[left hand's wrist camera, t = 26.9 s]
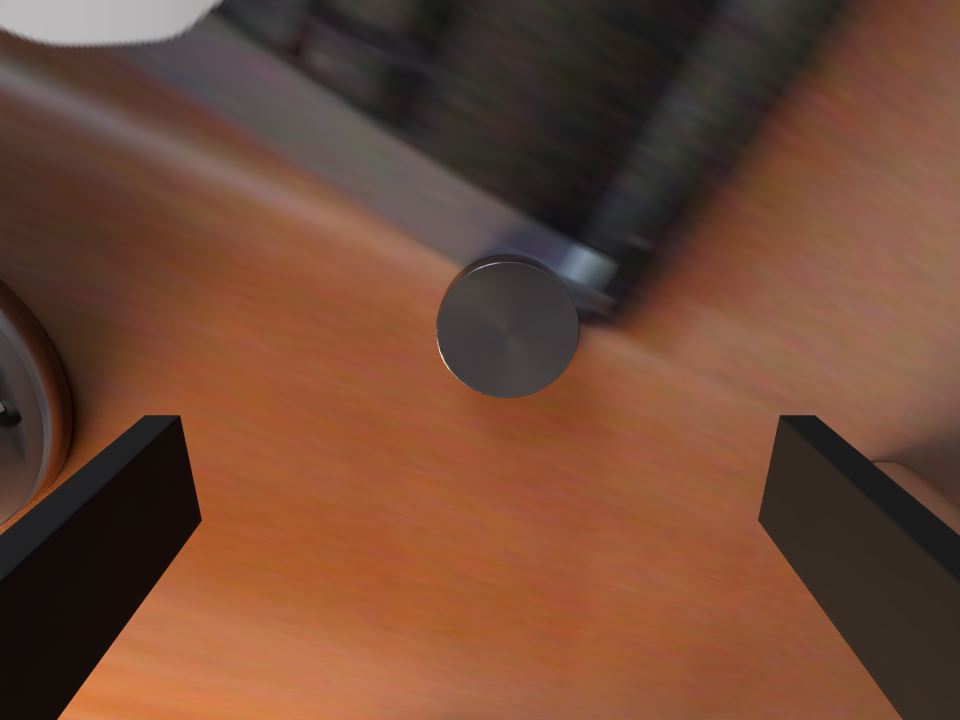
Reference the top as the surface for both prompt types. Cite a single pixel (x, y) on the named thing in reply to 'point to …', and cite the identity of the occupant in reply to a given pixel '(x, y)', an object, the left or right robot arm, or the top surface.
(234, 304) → the top surface
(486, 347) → the lid
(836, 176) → the top surface
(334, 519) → the top surface
